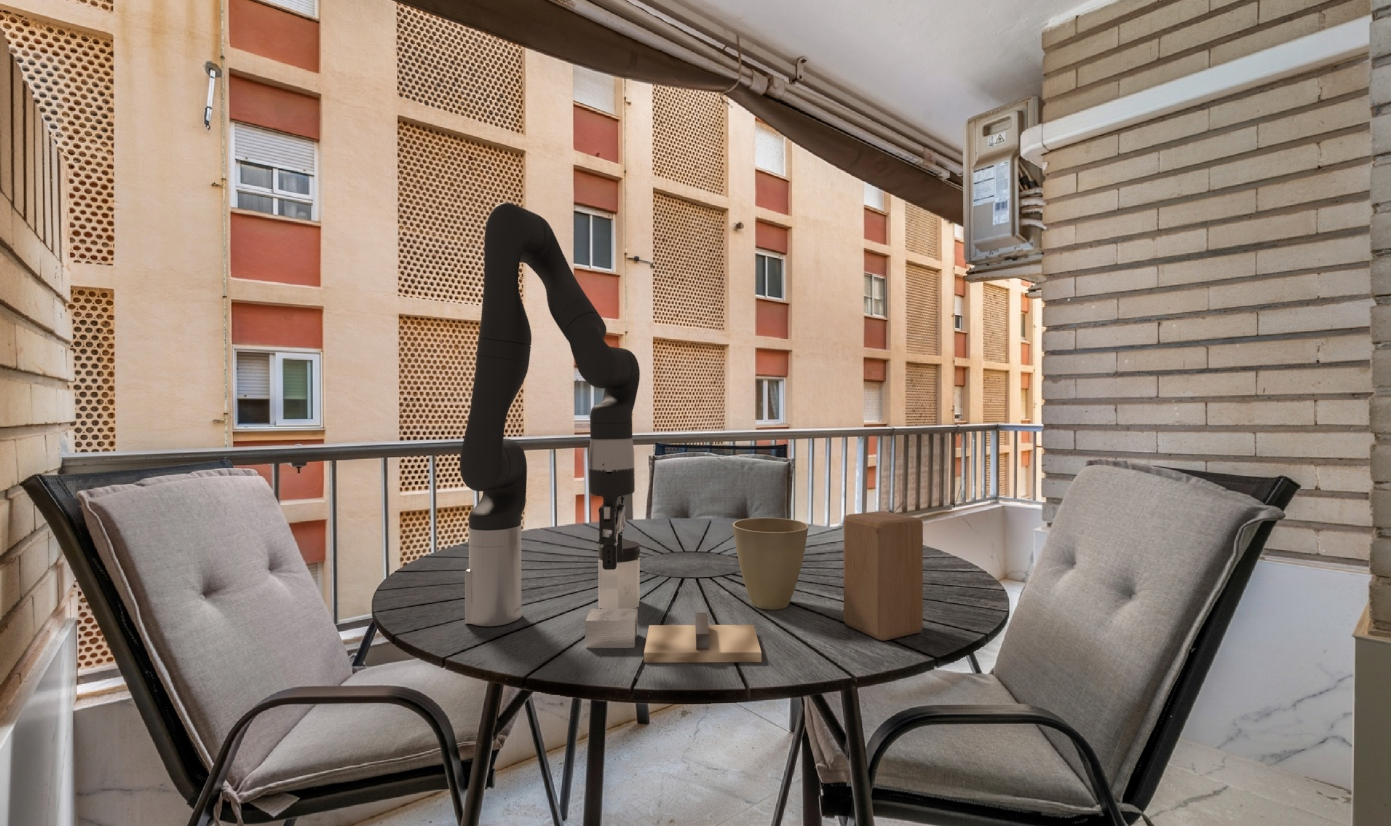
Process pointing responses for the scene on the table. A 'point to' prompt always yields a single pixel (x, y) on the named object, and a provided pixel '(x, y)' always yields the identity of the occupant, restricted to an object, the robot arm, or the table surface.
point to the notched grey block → (611, 628)
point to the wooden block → (883, 574)
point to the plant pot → (770, 558)
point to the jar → (620, 579)
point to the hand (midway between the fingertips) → (613, 562)
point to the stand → (702, 643)
